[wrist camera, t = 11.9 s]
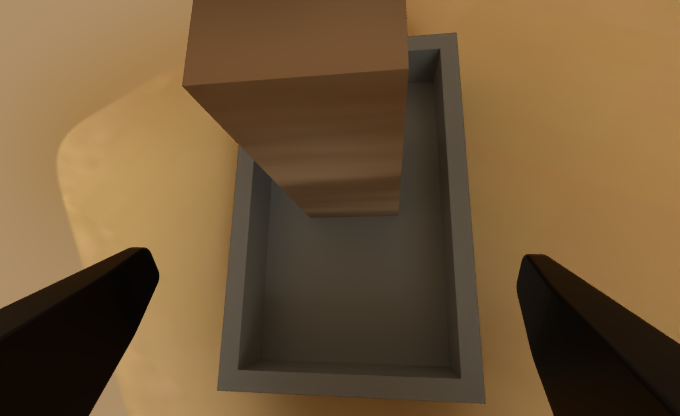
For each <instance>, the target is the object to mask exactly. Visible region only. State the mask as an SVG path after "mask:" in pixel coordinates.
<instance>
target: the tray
mask: <svg viewBox="0 0 680 416" xmlns="http://www.w3.org/2000/svg"><path fill="white" fill-rule="evenodd" d="M407 39H408V62H409V73H408V87H407V100H406V114H405V128H404V142H403V155H402V169H401V183H400V197H399V210H398V216H367V217H324V218H310V217H309V216H308V215H307V214H306V213H305V212H304V211H303V210H302V209H301V208H300V207H299V206H298V205H297V204H296V203H295V202H294V201H293V200H292V199H291V198H290V197H289V196H288V195H287V194H286V193H285V192H284V190H283V189H282V188H281V187H280V186H279V185H278V184H277V183H276V182H275V181H274V180H273V179H272V178H271V177H270V176H269V175H268V174H267V173H266V172H265V171H264V170H263V169H262V168H261V167H260V166H259V165H258V164H257V163H256V162H255V161H254V160H253V159H252V157H251V156H250V155H249V154H248V153H247V152H246V151H245V150H244V149H243V148H242V147H241V146H240V145H239V149H238V160H237V171H236V183H235V194H234V205H233V217H232V228H231V239H230V251H229V262H228V273H227V284H226V296H225V307H224V318H223V330H222V341H221V352H220V364H219V375H218V386H217V391H236V392H256V393H276V394H297V395H317V396H338V397H358V398H378V399H399V400H419V401H440V402H460V403H480V404H486V402H485V389H484V377H483V364H482V351H481V338H480V325H479V312H478V300H477V287H476V274H475V261H474V248H473V236H472V223H471V210H470V197H469V184H468V171H467V159H466V146H465V133H464V120H463V107H462V94H461V82H460V69H459V56H458V43H457V33H445V34H433V35H421V36H409V37H407Z"/></svg>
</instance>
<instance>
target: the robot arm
mask: <svg viewBox="0 0 680 416" xmlns="http://www.w3.org/2000/svg"><path fill="white" fill-rule="evenodd" d="M158 281H159V271H158V269H157V266H156V264H155V261H154V259H153V257H152V254H151V252H150V251H149V250H148V249H147V248H144V247H131V248H128V249H126V250H124V251H122V252H119V253H117V254H115V255H113V256H111V257H109V258H107V259H105V260H103V261H100V262H98V263H96V264H94V265H92V266H90V267H88V268H86V269H84V270H81V271H79V272H77V273H75V274H73V275H71V276H69V277H67V278H65V279H63V280H60V281H58V282H56V283H54V284H52V285H50V286H48V287H46V288H43V289H41V290H39V291H37V292H35V293H33V294H31V295H29V296H27V297H24V298H22V299H20V300H18V301H16V302H14V303H12V304H10V305H8V306H5V307H3V308H1V309H0V416H89V414H90V413H91V411H92V409H93V408H94V406H95V404H96V402H97V401H98V399H99V397H100V395H101V393H102V392H103V390H104V388H105V386H106V385H107V383H108V381H109V379H110V378H111V376H112V374H113V372H114V371H115V369H116V367H117V365H118V364H119V362H120V360H121V358H122V357H123V355H124V353H125V351H126V349H127V348H128V346H129V344H130V342H131V340H132V339H133V337H134V335H135V333H136V331H137V329H138V327H139V324H140V322H141V320H142V318H143V315H144V313H145V311H146V309H147V306H148V304H149V302H150V300H151V297H152V295H153V293H154V291H155V288H156V286H157V284H158ZM517 294H518V299H519V303H520V307H521V311H522V315H523V320H524V324H525V328H526V332H527V337H528V341H529V345H530V349H531V353H532V356H533V359H534V362H535V365H536V368H537V371H538V374H539V376H540V379H541V382H542V385H543V387H544V390H545V393H546V395H547V398H548V401H549V404H550V406H551V409H552V412H553V415H554V416H680V344H679V343H677V342H676V341H674V340H673V339H671V338H670V337H668V336H667V335H665V334H664V333H662V332H661V331H659V330H658V329H656V328H655V327H653V326H652V325H650V324H649V323H647V322H646V321H644V320H643V319H641V318H640V317H638V316H637V315H635V314H634V313H632V312H631V311H629V310H628V309H626V308H625V307H623V306H622V305H620V304H619V303H617V302H616V301H614V300H613V299H611V298H610V297H608V296H607V295H605V294H604V293H602V292H601V291H599V290H598V289H596V288H595V287H593V286H592V285H590V284H589V283H587V282H586V281H584V280H583V279H581V278H580V277H578V276H577V275H575V274H574V273H572V272H571V271H569V270H568V269H566V268H565V267H563V266H562V265H560V264H559V263H557V262H556V261H554V260H553V259H551V258H550V257H548V256H546V255H543V254H526V255H525V256H524V257H523V259H522V262H521V267H520V271H519V275H518V280H517Z"/></svg>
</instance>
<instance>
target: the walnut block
mask: <svg viewBox="0 0 680 416" xmlns="http://www.w3.org/2000/svg"><path fill="white" fill-rule="evenodd" d="M408 73H409V62H408V39H407V17H406V0H193V6H192V14H191V22H190V30H189V37H188V45H187V52H186V60H185V68H184V76H183V83H182V86H183V87H184V88H185V89H186V90H187V91H188V93H189V94H190V95H191V96H192V97H193V98H194V99H195V100H196V101H197V102H198V103H199V104H200V105H201V106H202V107H203V108H204V109H205V110H206V111H207V112H208V113H209V114H210V115H211V116H212V117H213V118H214V119H215V120H216V121H217V122H218V123H219V124H220V126H221V127H222V128H223V129H224V130H225V131H226V132H227V133H228V134H229V135H230V136H231V137H232V138H233V139H234V140H235V141H236V142H237V143H238V144H239V145H240V146H241V147H242V148H243V149H244V150H245V151H246V152H247V153H248V154H249V155H250V156H251V157H252V159H253V160H254V161H255V162H256V163H257V164H258V165H259V166H260V167H261V168H262V169H263V170H264V171H265V172H266V173H267V174H268V175H269V176H270V177H271V178H272V179H273V180H274V181H275V182H276V183H277V184H278V185H279V186H280V187H281V188H282V189H283V190H284V192H285V193H286V194H287V195H288V196H289V197H290V198H291V199H292V200H293V201H294V202H295V203H296V204H297V205H298V206H299V207H300V208H301V209H302V210H303V211H304V212H305V213H306V214H307V215H308V216H309V217H310V218H324V217H367V216H398V210H399V197H400V183H401V169H402V155H403V142H404V128H405V114H406V100H407V87H408Z"/></svg>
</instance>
